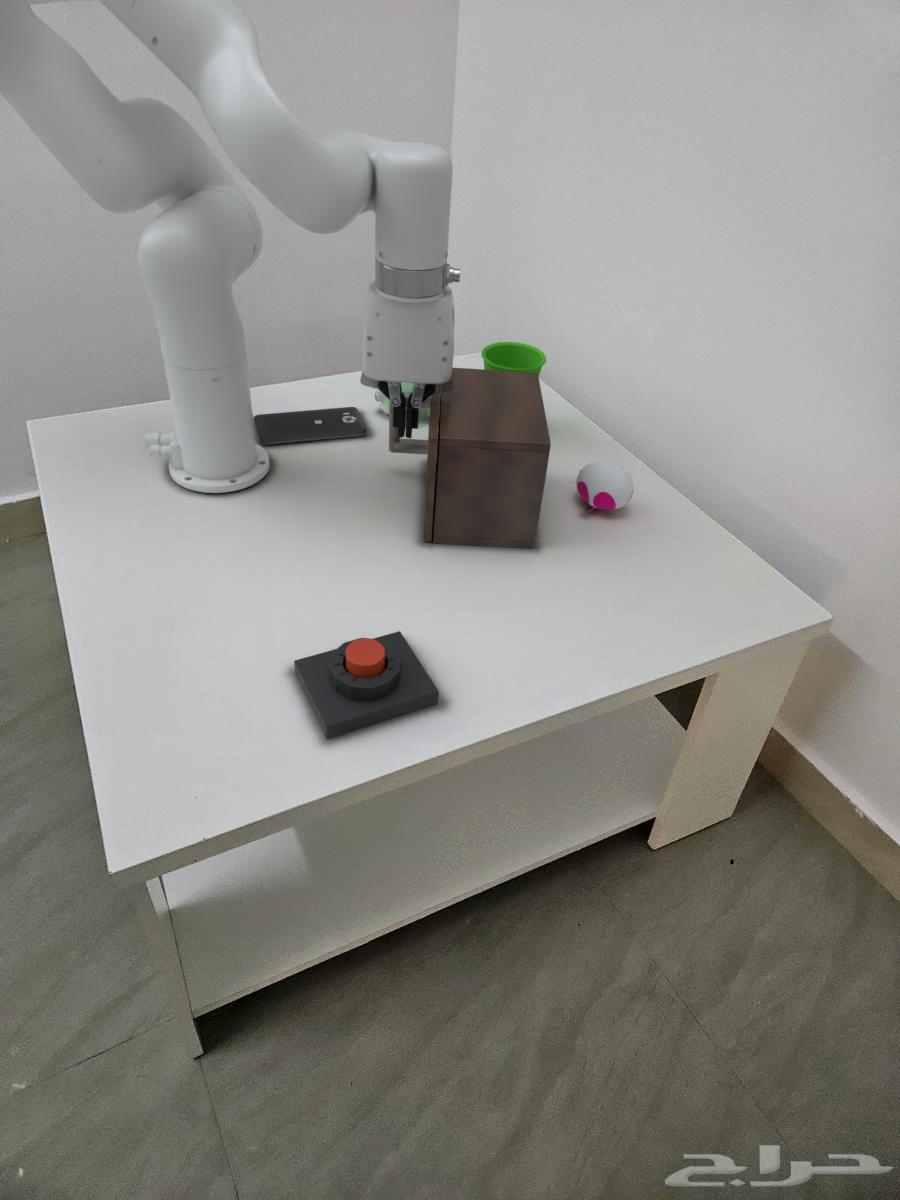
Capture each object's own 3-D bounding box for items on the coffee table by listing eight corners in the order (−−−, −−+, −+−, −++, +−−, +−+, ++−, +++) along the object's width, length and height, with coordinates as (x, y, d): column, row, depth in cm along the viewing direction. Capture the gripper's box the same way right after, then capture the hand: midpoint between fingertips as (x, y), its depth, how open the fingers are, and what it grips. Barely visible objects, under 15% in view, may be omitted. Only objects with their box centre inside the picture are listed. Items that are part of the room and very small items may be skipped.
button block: (326, 739, 73) (325, 712, 70) (294, 673, 79) (292, 646, 76) (438, 703, 77) (440, 677, 75) (399, 643, 83) (400, 617, 81)
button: (354, 683, 74) (354, 669, 73) (340, 657, 76) (339, 644, 75) (391, 672, 75) (391, 658, 74) (376, 647, 78) (376, 634, 77)
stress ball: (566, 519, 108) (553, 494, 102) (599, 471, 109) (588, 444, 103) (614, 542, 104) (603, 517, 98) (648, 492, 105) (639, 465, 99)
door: (378, 539, 96) (379, 435, 87) (389, 460, 110) (391, 364, 101) (431, 542, 96) (437, 438, 87) (435, 463, 110) (441, 367, 101)
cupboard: (433, 543, 96) (439, 437, 87) (436, 464, 110) (441, 366, 101) (534, 548, 97) (551, 444, 88) (524, 469, 111) (538, 372, 102)
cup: (532, 445, 116) (542, 372, 109) (469, 436, 117) (475, 363, 110) (539, 417, 123) (549, 346, 116) (480, 408, 124) (486, 338, 117)
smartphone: (368, 435, 115) (368, 430, 114) (259, 445, 111) (259, 440, 110) (356, 410, 120) (356, 405, 120) (252, 419, 116) (252, 414, 116)
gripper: (480, 270, 89) (467, 421, 101) (343, 260, 89) (346, 414, 101) (481, 294, 84) (467, 452, 95) (335, 284, 83) (339, 444, 95)
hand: (405, 432), depth 98 cm, fingers closed
